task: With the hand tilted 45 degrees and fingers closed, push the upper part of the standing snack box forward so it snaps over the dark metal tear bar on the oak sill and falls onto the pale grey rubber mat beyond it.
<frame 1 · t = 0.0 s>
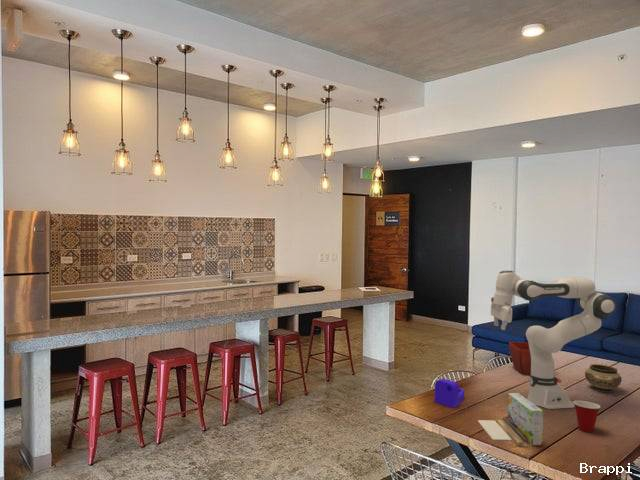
hand: (499, 327, 249), 39 cm above the table, tool pointing down, fingers open, 8 cm apart
mat: (493, 430, 214), on the table
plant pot: (528, 372, 303), on the table
tear bar: (512, 434, 210), on the table
snack box: (524, 435, 210), on the table
ceramic bowl: (602, 390, 272), on the table
plastic cup: (585, 429, 217), on the table
bracket: (453, 401, 250), on the table
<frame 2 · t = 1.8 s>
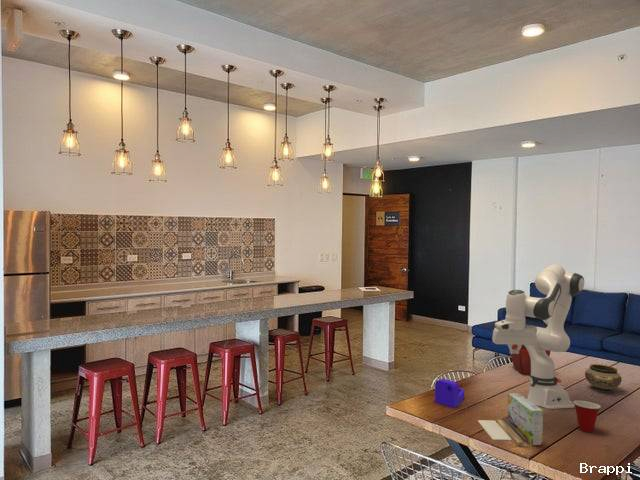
hand: (514, 353, 227), 31 cm above the table, tool pointing down, fingers closed
nothing on the table moved.
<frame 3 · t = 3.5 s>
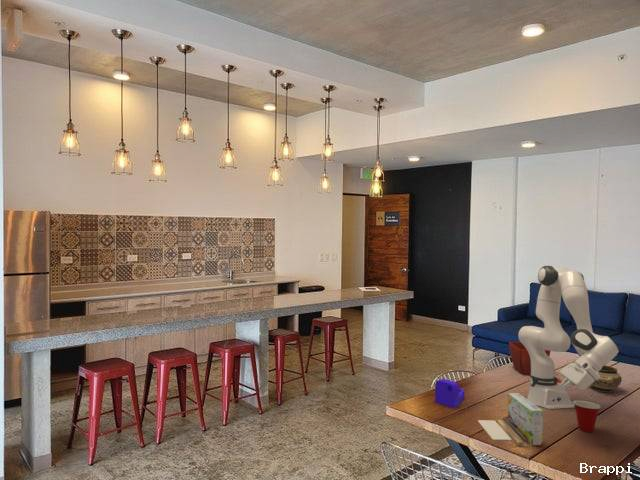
hand: (561, 388, 210), 21 cm above the table, tool tilted 45°, fingers closed
nothing on the table moved.
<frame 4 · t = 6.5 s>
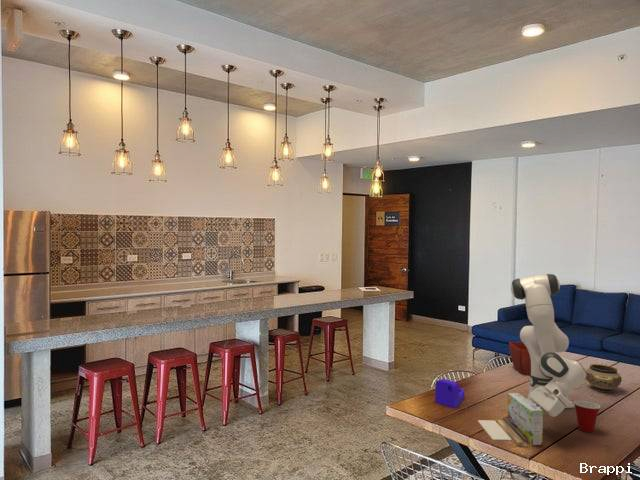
hand: (532, 413, 210), 9 cm above the table, tool tilted 45°, fingers closed, pressing on snack box
snack box: (524, 435, 210), on the table, touching gripper
everything else where it was.
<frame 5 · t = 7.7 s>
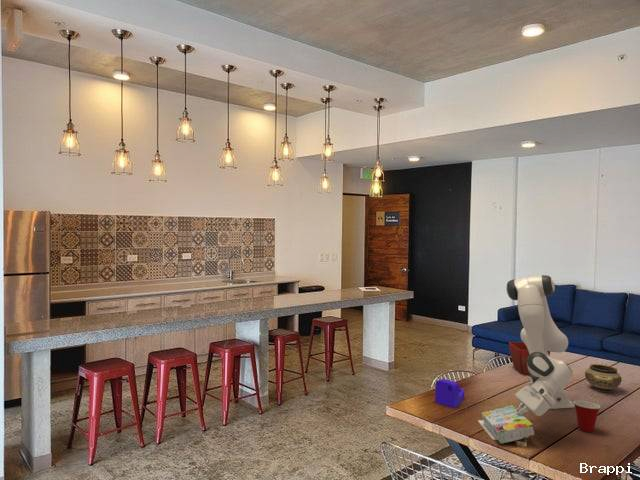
hand: (518, 412, 210), 10 cm above the table, tool tilted 45°, fingers closed, pressing on snack box
snack box: (524, 419, 209), point 7 cm above the table, touching gripper, tear bar
everything else where it was.
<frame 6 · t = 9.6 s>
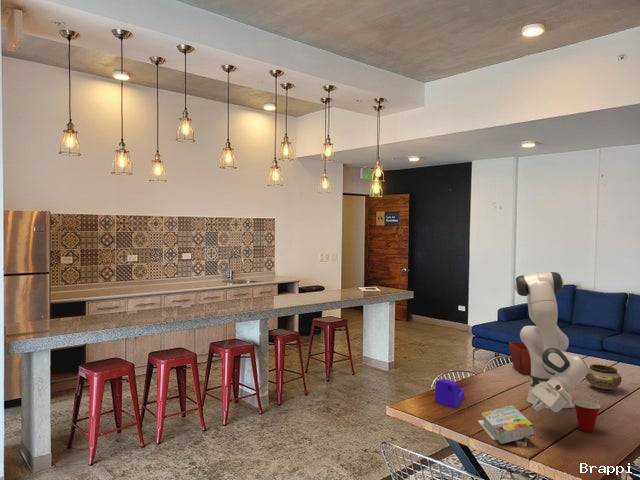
hand: (534, 409, 210), 11 cm above the table, tool tilted 45°, fingers closed
snack box: (524, 419, 209), point 7 cm above the table, touching mat, tear bar
everything else where it was.
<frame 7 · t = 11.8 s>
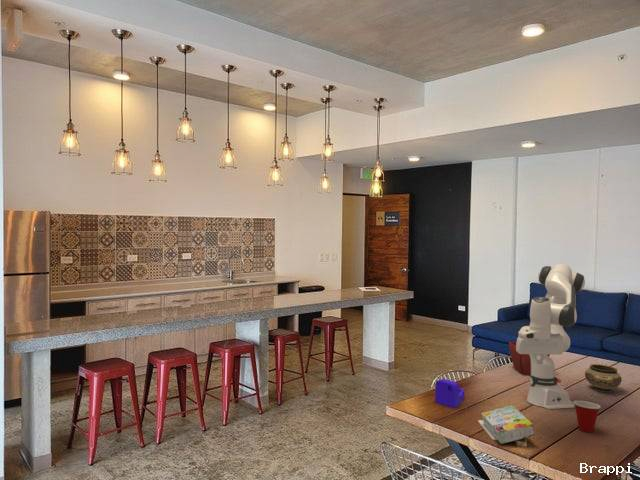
hand: (539, 363, 216), 29 cm above the table, tool pointing down, fingers closed
nothing on the table moved.
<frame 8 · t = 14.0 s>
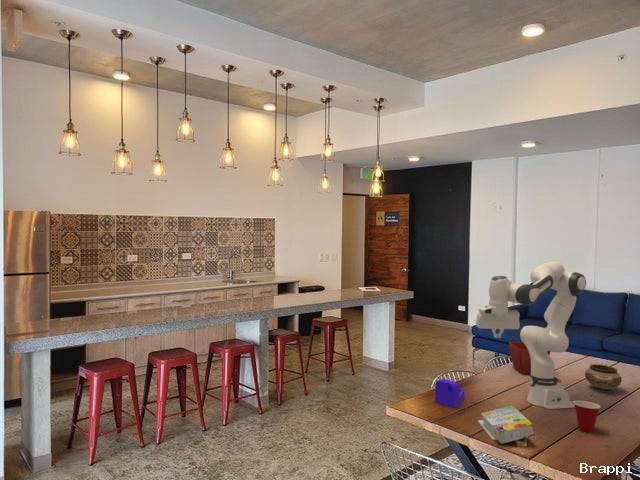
hand: (497, 337, 233), 37 cm above the table, tool pointing down, fingers closed
nothing on the table moved.
at the end: snack box tilted 105°; snack box touching mat, tear bar; the gripper is holding nothing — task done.
